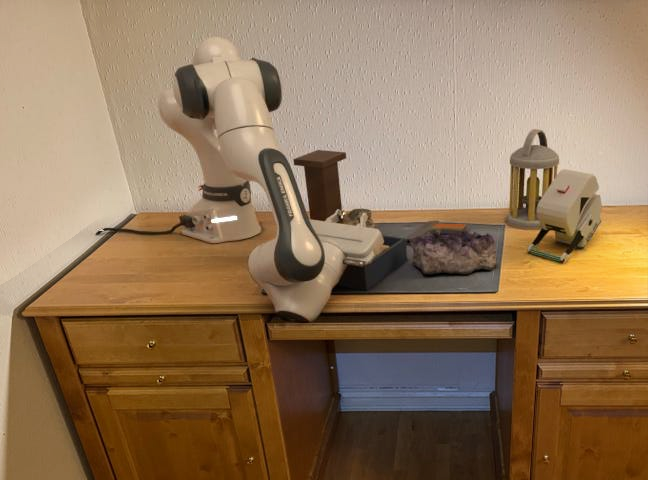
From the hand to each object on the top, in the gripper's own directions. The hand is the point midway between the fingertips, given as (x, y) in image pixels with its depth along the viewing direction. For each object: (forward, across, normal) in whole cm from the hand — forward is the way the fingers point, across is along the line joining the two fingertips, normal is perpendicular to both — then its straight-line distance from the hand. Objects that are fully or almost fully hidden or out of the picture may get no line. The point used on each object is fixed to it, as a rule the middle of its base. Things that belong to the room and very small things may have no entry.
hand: (352, 212), depth 146 cm
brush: (-4, 0, +14) cm, 15 cm away
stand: (0, +14, +18) cm, 22 cm away
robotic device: (+24, -40, +32) cm, 56 cm away
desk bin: (-4, 0, +15) cm, 16 cm away
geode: (+4, -18, +20) cm, 28 cm away
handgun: (+20, -6, +29) cm, 36 cm away
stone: (+12, +14, +25) cm, 31 cm away
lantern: (+39, -24, +40) cm, 61 cm away
